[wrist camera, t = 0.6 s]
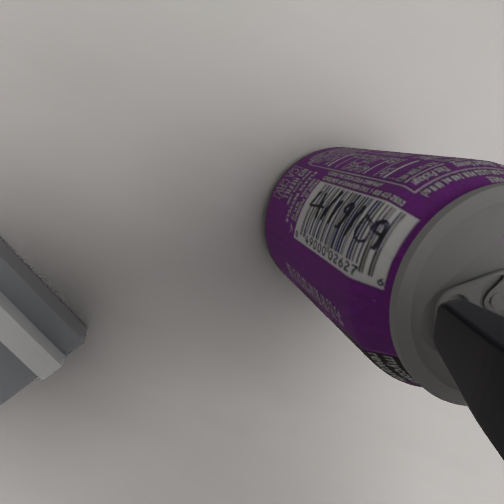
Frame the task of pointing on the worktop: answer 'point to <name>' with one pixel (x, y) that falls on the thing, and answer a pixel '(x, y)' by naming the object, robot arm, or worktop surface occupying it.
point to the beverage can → (391, 248)
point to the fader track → (31, 326)
